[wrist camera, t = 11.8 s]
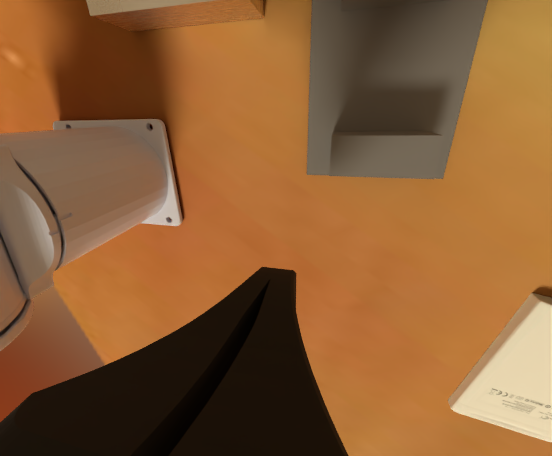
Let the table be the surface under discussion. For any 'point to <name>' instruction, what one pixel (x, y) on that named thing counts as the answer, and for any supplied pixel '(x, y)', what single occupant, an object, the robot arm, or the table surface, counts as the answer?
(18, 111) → the table surface
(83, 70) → the table surface
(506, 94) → the table surface
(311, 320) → the table surface
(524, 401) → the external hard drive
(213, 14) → the port
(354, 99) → the holster
